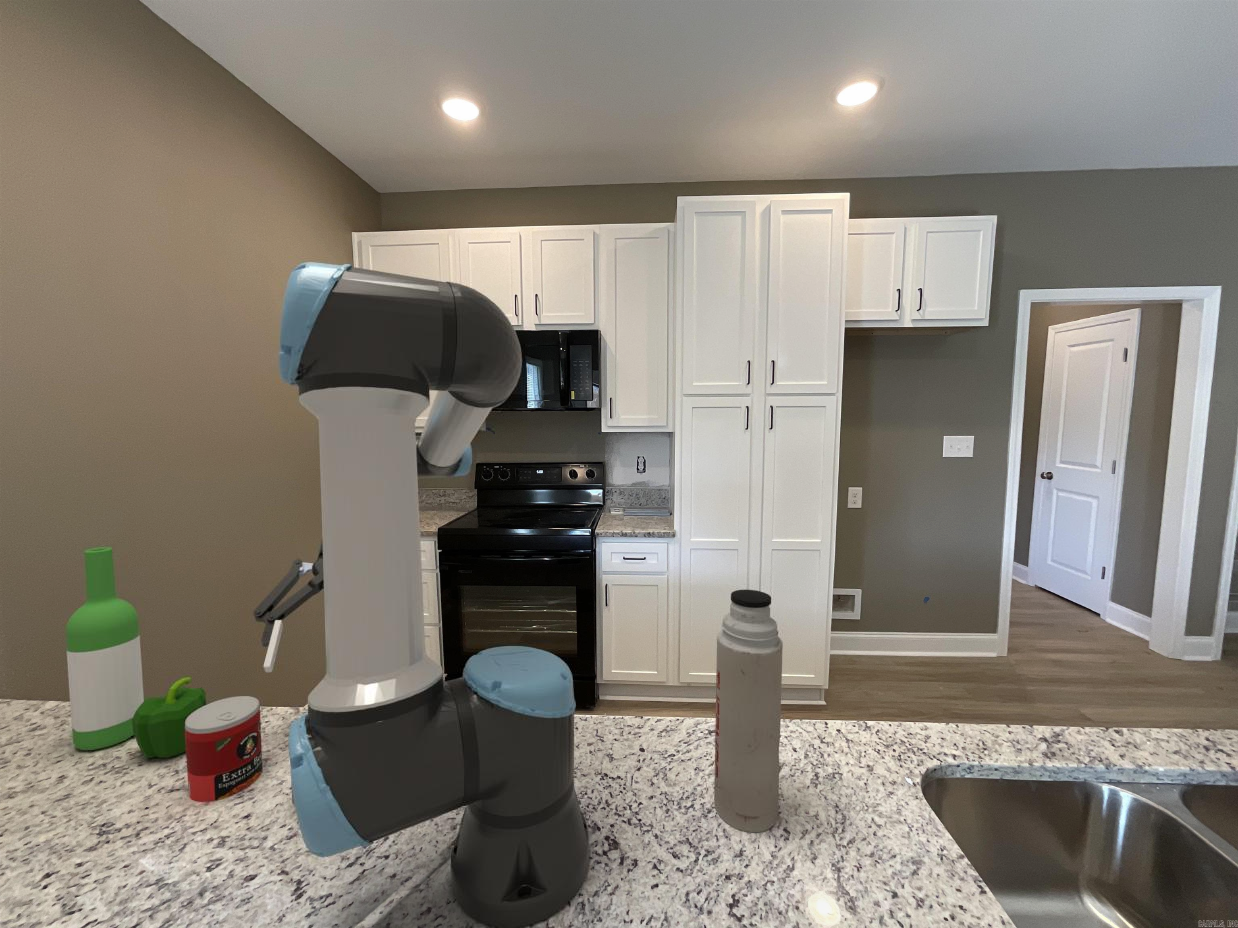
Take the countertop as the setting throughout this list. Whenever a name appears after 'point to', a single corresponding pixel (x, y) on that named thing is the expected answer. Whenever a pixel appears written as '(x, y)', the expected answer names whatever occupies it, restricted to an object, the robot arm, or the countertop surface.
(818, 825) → the countertop surface
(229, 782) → the canned food
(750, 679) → the thermos bottle
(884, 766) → the countertop surface
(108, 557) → the wine bottle
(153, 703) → the bell pepper
